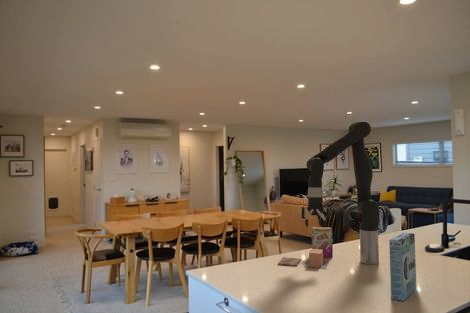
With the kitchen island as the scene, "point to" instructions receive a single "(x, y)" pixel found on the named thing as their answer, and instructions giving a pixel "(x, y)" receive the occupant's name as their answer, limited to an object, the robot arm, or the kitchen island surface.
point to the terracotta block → (316, 258)
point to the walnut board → (289, 261)
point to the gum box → (402, 266)
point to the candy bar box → (323, 240)
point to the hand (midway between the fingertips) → (315, 227)
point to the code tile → (316, 267)
